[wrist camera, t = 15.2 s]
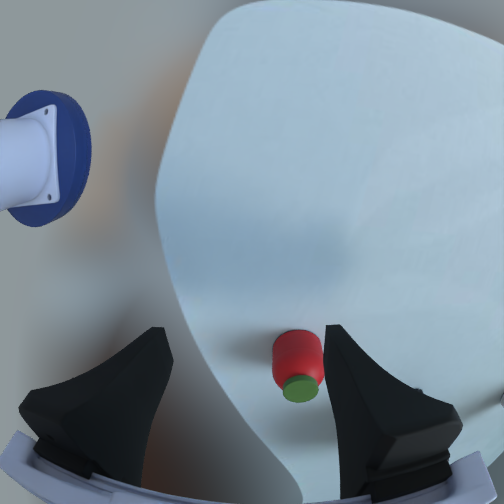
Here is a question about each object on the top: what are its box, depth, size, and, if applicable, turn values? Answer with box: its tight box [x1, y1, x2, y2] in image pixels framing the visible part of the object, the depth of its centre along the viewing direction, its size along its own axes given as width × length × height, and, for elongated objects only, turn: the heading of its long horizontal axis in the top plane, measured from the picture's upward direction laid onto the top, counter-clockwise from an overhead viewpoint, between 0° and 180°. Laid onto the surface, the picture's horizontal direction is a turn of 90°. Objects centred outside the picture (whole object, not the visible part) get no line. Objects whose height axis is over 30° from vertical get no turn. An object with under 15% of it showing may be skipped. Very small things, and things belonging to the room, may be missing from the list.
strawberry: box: [272, 330, 325, 403], centre depth 21 cm, size 4×4×5 cm
